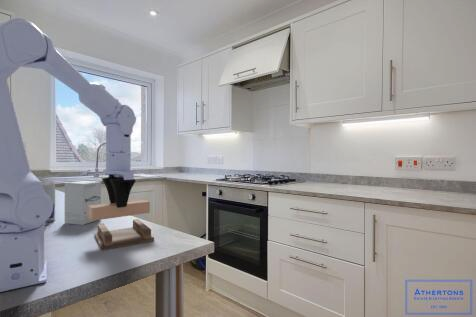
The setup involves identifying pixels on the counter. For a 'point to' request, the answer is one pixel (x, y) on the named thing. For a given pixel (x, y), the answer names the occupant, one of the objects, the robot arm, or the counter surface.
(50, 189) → the energy drink
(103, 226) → the brown wooden stand
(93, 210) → the clay strip
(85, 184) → the supplement box
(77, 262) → the counter surface
